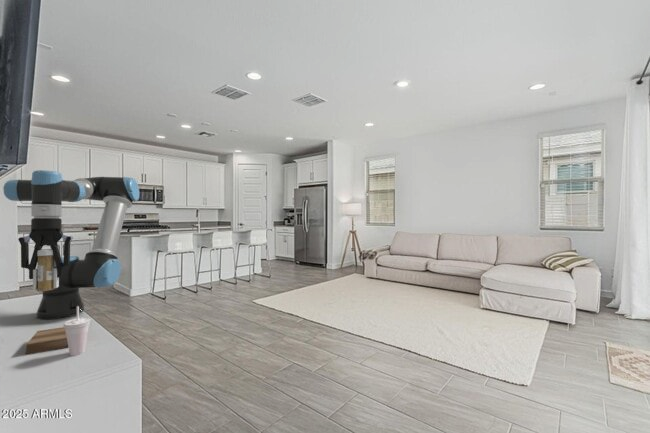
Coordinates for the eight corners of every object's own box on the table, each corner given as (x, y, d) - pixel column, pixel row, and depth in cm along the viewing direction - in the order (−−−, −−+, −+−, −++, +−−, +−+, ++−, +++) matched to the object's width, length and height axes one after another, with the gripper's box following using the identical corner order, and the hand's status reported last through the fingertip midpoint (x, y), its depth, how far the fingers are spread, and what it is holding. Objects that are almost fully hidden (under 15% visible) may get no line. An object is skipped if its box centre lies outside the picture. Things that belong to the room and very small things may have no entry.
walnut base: (37, 339, 104) (37, 331, 104) (82, 332, 110) (82, 324, 110) (26, 354, 94) (26, 344, 94) (76, 345, 100) (76, 336, 100)
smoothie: (93, 346, 99) (93, 303, 99) (86, 355, 93) (85, 309, 93) (69, 350, 97) (68, 305, 97) (59, 359, 91) (59, 311, 91)
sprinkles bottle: (55, 290, 103) (55, 249, 103) (36, 292, 100) (37, 250, 100) (54, 287, 107) (55, 248, 107) (36, 290, 104) (36, 249, 104)
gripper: (5, 217, 96) (5, 293, 96) (77, 217, 104) (76, 287, 104) (15, 217, 103) (15, 288, 103) (82, 217, 111) (81, 283, 111)
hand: (46, 288), depth 103 cm, fingers closed on sprinkles bottle, 4 cm apart
